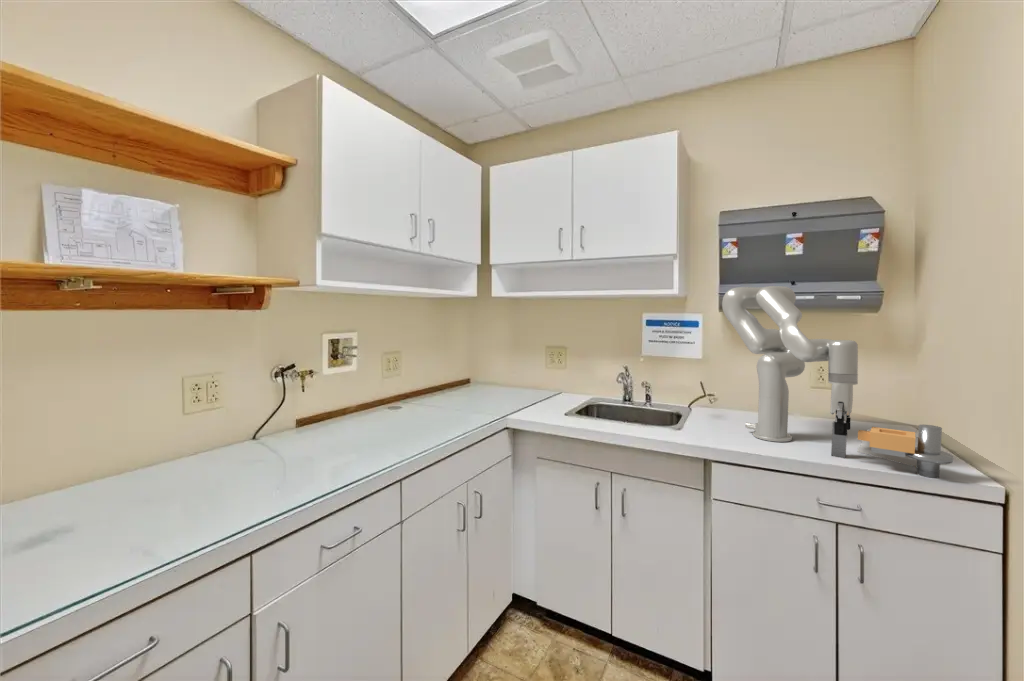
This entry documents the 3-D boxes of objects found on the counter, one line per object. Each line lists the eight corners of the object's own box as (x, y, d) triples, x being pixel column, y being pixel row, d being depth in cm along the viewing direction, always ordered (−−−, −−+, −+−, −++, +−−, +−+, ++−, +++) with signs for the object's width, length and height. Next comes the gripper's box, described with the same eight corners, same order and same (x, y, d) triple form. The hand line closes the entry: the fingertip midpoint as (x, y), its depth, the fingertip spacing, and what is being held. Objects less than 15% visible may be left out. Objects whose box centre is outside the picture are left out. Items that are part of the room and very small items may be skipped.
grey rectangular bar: (831, 455, 144) (832, 422, 144) (832, 454, 146) (833, 421, 145) (845, 458, 142) (846, 424, 141) (845, 456, 144) (847, 422, 143)
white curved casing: (855, 451, 149) (863, 422, 150) (863, 454, 151) (871, 425, 152) (917, 467, 134) (925, 435, 134) (925, 470, 136) (933, 438, 136)
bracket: (914, 447, 132) (915, 432, 132) (914, 453, 126) (915, 438, 126) (859, 439, 141) (859, 424, 140) (856, 444, 135) (857, 430, 134)
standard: (950, 474, 128) (953, 426, 127) (953, 484, 120) (956, 433, 119) (872, 460, 140) (874, 416, 139) (870, 469, 132) (872, 422, 131)
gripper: (832, 375, 151) (831, 425, 152) (824, 380, 138) (824, 435, 139) (860, 376, 146) (859, 428, 147) (855, 382, 133) (854, 439, 134)
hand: (842, 432), depth 143 cm, fingers open, 9 cm apart
